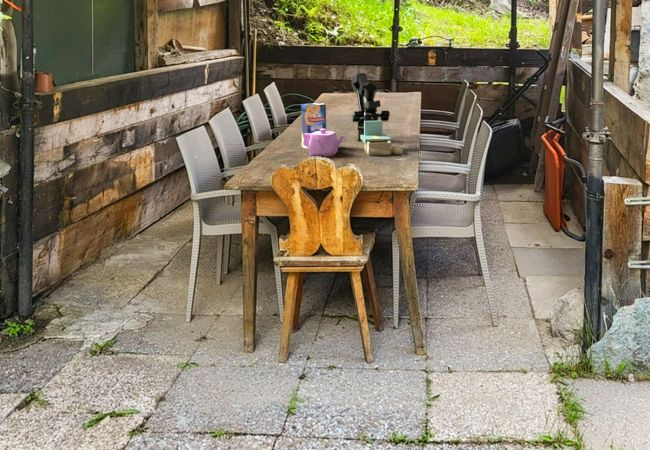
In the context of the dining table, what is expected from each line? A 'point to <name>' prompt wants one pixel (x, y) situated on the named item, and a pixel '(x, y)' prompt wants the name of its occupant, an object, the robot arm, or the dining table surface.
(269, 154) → the dining table surface
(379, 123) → the teal l-shaped bracket
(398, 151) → the tape roll
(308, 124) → the beverage box
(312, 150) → the teakettle
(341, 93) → the dining table surface
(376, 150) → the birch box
